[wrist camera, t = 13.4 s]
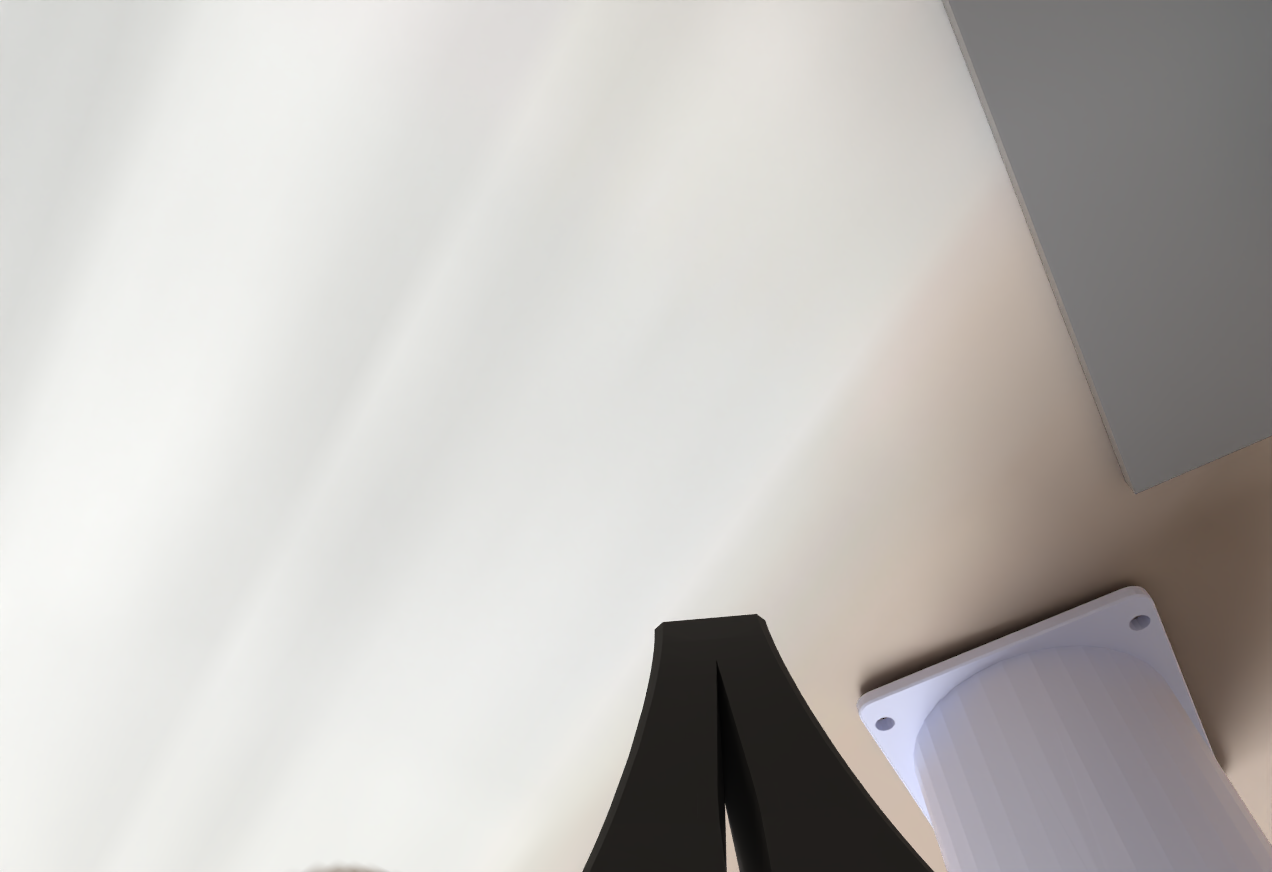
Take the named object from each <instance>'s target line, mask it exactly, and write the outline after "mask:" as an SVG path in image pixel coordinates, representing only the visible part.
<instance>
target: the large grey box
mask: <svg viewBox="0 0 1272 872" xmlns="http://www.w3.org/2000/svg"><path fill="white" fill-rule="evenodd" d="M942 2H943V4H944V7H945V10H946V12H947V15H948V17H949V20H950V23H951V25H952V28H953V31H954V33H955V36H956V38H957V41H958V44H959V46H960V49H961V52H962V54H963V57H964V59H965V62H966V65H967V67H968V70H969V72H970V75H971V78H972V80H973V83H974V86H975V88H976V91H977V93H978V96H979V99H980V101H981V104H982V107H983V109H984V112H985V114H986V117H987V120H988V122H989V125H990V127H991V130H992V133H993V135H994V138H995V141H996V143H997V146H998V148H999V151H1000V154H1001V156H1002V159H1003V161H1004V164H1005V167H1006V169H1007V172H1008V175H1009V177H1010V180H1011V182H1012V185H1013V188H1014V190H1015V193H1016V196H1017V198H1018V201H1019V203H1020V206H1021V209H1022V211H1023V214H1024V216H1025V219H1026V222H1027V224H1028V227H1029V230H1030V232H1031V235H1032V237H1033V240H1034V243H1035V245H1036V248H1037V250H1038V253H1039V256H1040V258H1041V261H1042V264H1043V266H1044V269H1045V271H1046V274H1047V277H1048V279H1049V282H1050V285H1051V287H1052V290H1053V292H1054V295H1055V298H1056V300H1057V303H1058V305H1059V308H1060V311H1061V313H1062V316H1063V319H1064V321H1065V324H1066V326H1067V329H1068V332H1069V334H1070V337H1071V340H1072V342H1073V345H1074V347H1075V350H1076V353H1077V355H1078V358H1079V360H1080V363H1081V366H1082V368H1083V371H1084V374H1085V376H1086V379H1087V381H1088V384H1089V387H1090V389H1091V392H1092V394H1093V397H1094V400H1095V402H1096V405H1097V408H1098V410H1099V413H1100V415H1101V418H1102V421H1103V423H1104V426H1105V429H1106V431H1107V434H1108V436H1109V439H1110V442H1111V444H1112V447H1113V449H1114V452H1115V455H1116V457H1117V460H1118V463H1119V465H1120V468H1121V470H1122V473H1123V476H1124V478H1125V481H1126V483H1127V484H1128V485H1129V487H1130V488H1131V489H1132V491H1133V492H1134V493H1135V494H1137V493H1139V492H1142V491H1144V490H1146V489H1149V488H1151V487H1153V486H1156V485H1158V484H1160V483H1163V482H1165V481H1167V480H1170V479H1172V478H1174V477H1177V476H1179V475H1181V474H1184V473H1186V472H1188V471H1191V470H1193V469H1195V468H1198V467H1200V466H1202V465H1205V464H1207V463H1209V462H1212V461H1214V460H1216V459H1219V458H1221V457H1223V456H1226V455H1228V454H1230V453H1233V452H1235V451H1237V450H1240V449H1242V448H1244V447H1247V446H1249V445H1251V444H1254V443H1256V442H1258V441H1261V440H1263V439H1265V438H1268V437H1270V436H1272V0H942Z"/></svg>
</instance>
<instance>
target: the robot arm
mask: <svg viewBox="0 0 1272 872" xmlns="http://www.w3.org/2000/svg"><path fill="white" fill-rule="evenodd" d="M1140 615H1141V616H1140ZM1136 616H1139V617H1138V618H1136V619H1133V618H1135V617H1136ZM1132 619H1133V620H1132ZM857 709H858V712H859V716H860V719H861V720H862V722H863V723H864V725H865V726H866V728H867V729H868V731H869V732H870V734H871V735H872V737H873V738H874V740H875V741H876V743H877V744H878V746H879V747H880V749H881V750H882V752H883V753H884V755H885V756H886V758H887V759H888V761H889V762H890V764H891V765H892V767H893V768H894V770H895V771H896V773H897V774H898V776H899V777H900V779H901V780H902V782H903V783H904V785H905V786H906V788H907V789H908V791H909V792H910V794H911V795H912V797H913V798H914V800H915V802H916V803H917V805H918V806H919V808H920V809H921V811H922V812H923V814H924V815H925V817H926V818H927V820H928V821H929V823H930V824H931V826H932V827H933V829H934V832H935V835H936V838H937V841H938V844H939V847H940V850H941V853H942V856H943V859H944V862H945V866H946V869H947V872H1272V846H1271V844H1270V842H1269V841H1268V839H1267V838H1266V836H1265V835H1264V833H1263V832H1262V830H1261V828H1260V827H1259V825H1258V824H1257V822H1256V821H1255V819H1254V818H1253V816H1252V814H1251V813H1250V811H1249V810H1248V808H1247V807H1246V805H1245V804H1244V802H1243V800H1242V799H1241V797H1240V796H1239V794H1238V793H1237V791H1236V790H1235V788H1234V786H1233V785H1232V783H1231V782H1230V780H1229V779H1228V777H1227V776H1226V774H1225V772H1224V771H1223V769H1222V768H1221V766H1220V765H1219V763H1218V762H1217V760H1216V758H1215V756H1214V753H1213V751H1212V748H1211V746H1210V743H1209V740H1208V738H1207V735H1206V733H1205V730H1204V728H1203V725H1202V723H1201V720H1200V718H1199V715H1198V713H1197V710H1196V708H1195V705H1194V702H1193V700H1192V697H1191V695H1190V692H1189V690H1188V687H1187V685H1186V682H1185V680H1184V677H1183V675H1182V672H1181V670H1180V667H1179V664H1178V662H1177V659H1176V657H1175V654H1174V652H1173V649H1172V647H1171V644H1170V642H1169V639H1168V637H1167V634H1166V632H1165V629H1164V627H1163V624H1162V621H1161V619H1160V616H1159V614H1158V611H1157V609H1156V606H1155V604H1154V601H1153V600H1152V598H1151V597H1150V595H1149V594H1148V592H1147V591H1146V590H1145V589H1144V588H1142V587H1139V586H1129V587H1125V588H1122V589H1119V590H1117V591H1114V592H1112V593H1110V594H1107V595H1105V596H1102V597H1100V598H1097V599H1095V600H1092V601H1090V602H1087V603H1085V604H1083V605H1080V606H1078V607H1075V608H1073V609H1070V610H1068V611H1065V612H1063V613H1060V614H1058V615H1056V616H1053V617H1051V618H1048V619H1046V620H1043V621H1041V622H1038V623H1036V624H1033V625H1031V626H1029V627H1026V628H1024V629H1021V630H1019V631H1016V632H1014V633H1011V634H1009V635H1006V636H1004V637H1002V638H999V639H997V640H994V641H992V642H989V643H987V644H984V645H982V646H979V647H977V648H975V649H972V650H970V651H967V652H965V653H962V654H960V655H957V656H955V657H952V658H950V659H948V660H945V661H943V662H940V663H938V664H935V665H933V666H930V667H928V668H925V669H923V670H921V671H918V672H916V673H913V674H911V675H908V676H906V677H903V678H901V679H898V680H896V681H894V682H891V683H889V684H886V685H884V686H881V687H879V688H876V689H874V690H871V691H869V692H867V693H865V694H864V695H862V696H861V697H860V698H859V700H858V702H857ZM884 717H887V718H886V719H881V718H884ZM879 719H881V720H879ZM725 805H726V810H727V814H728V819H729V824H730V828H731V833H732V838H733V842H734V847H735V852H736V856H737V861H738V865H739V870H740V872H934V871H933V870H932V869H931V868H930V867H929V866H928V865H927V863H926V862H925V861H924V860H923V859H922V858H921V857H920V856H919V855H918V853H917V852H916V851H915V850H914V849H913V848H912V846H911V845H910V844H909V843H908V842H907V841H906V839H905V838H904V837H903V836H902V835H901V834H900V832H899V831H898V830H897V829H896V828H895V826H894V825H893V824H892V823H891V822H890V820H889V819H888V818H887V817H886V815H885V814H884V813H883V812H882V810H881V809H880V808H879V806H878V805H877V804H876V803H875V801H874V800H873V799H872V798H871V796H870V795H869V794H868V792H867V791H866V790H865V788H864V787H863V785H862V784H861V783H860V781H859V780H858V779H857V777H856V776H855V775H854V773H853V772H852V771H851V769H850V768H849V767H848V765H847V764H846V762H845V761H844V759H843V758H842V757H841V755H840V754H839V752H838V751H837V749H836V748H835V746H834V745H833V743H832V742H831V740H830V739H829V737H828V736H827V734H826V733H825V731H824V730H823V728H822V726H821V725H820V723H819V722H818V720H817V719H816V717H815V716H814V714H813V713H812V711H811V710H810V708H809V706H808V705H807V703H806V701H805V700H804V698H803V696H802V695H801V693H800V691H799V689H798V688H797V686H796V684H795V682H794V680H793V679H792V677H791V675H790V673H789V672H788V670H787V668H786V666H785V664H784V662H783V660H782V658H781V656H780V654H779V652H778V650H777V648H776V646H775V644H774V641H773V639H772V637H771V635H770V632H769V630H768V627H767V625H766V622H765V620H764V619H762V618H761V617H760V616H758V615H757V614H752V615H741V616H729V617H717V618H706V619H694V620H683V621H671V622H663V623H661V624H660V625H659V626H658V627H657V628H656V629H655V643H654V653H653V661H652V668H651V673H650V679H649V683H648V688H647V692H646V697H645V701H644V705H643V709H642V713H641V716H640V720H639V723H638V726H637V730H636V733H635V737H634V740H633V744H632V747H631V751H630V754H629V757H628V760H627V763H626V766H625V768H624V771H623V774H622V777H621V779H620V782H619V785H618V788H617V790H616V793H615V796H614V798H613V801H612V804H611V807H610V809H609V812H608V814H607V817H606V819H605V822H604V824H603V827H602V829H601V831H600V834H599V836H598V839H597V841H596V843H595V845H594V848H593V850H592V852H591V854H590V856H589V859H588V861H587V863H586V865H585V867H584V869H583V872H727V867H726V827H725Z"/></svg>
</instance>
